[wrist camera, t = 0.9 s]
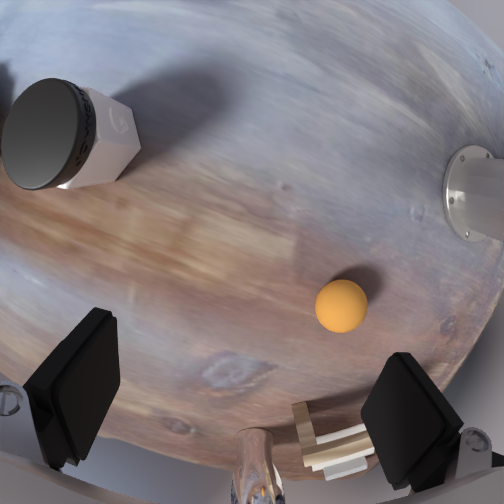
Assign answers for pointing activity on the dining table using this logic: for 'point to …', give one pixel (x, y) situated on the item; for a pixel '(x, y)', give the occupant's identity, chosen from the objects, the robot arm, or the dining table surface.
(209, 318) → the dining table surface
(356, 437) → the bridge
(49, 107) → the jar
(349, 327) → the ball
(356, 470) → the stopper wall
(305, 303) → the dining table surface
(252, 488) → the beer glass
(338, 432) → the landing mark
